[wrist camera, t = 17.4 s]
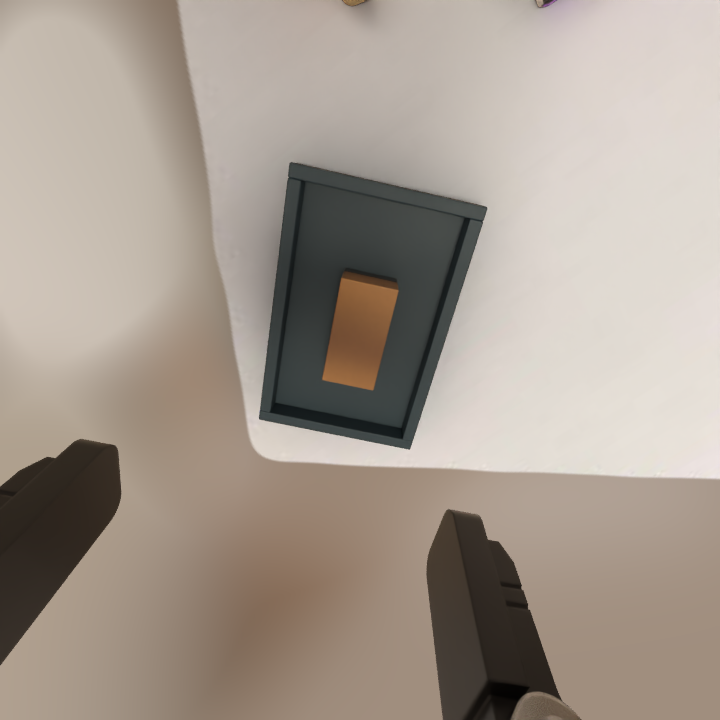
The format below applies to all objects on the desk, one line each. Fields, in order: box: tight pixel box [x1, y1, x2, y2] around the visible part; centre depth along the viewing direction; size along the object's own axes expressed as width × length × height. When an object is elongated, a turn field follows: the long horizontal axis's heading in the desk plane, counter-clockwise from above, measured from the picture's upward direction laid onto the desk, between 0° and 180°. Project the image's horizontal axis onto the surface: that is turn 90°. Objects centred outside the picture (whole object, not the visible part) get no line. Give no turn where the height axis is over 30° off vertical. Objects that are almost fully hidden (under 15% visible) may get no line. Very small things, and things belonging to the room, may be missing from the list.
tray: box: [259, 162, 487, 449], centre depth 27 cm, size 18×12×2 cm, turn 168°
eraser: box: [322, 268, 399, 390], centre depth 27 cm, size 7×4×3 cm, turn 168°
